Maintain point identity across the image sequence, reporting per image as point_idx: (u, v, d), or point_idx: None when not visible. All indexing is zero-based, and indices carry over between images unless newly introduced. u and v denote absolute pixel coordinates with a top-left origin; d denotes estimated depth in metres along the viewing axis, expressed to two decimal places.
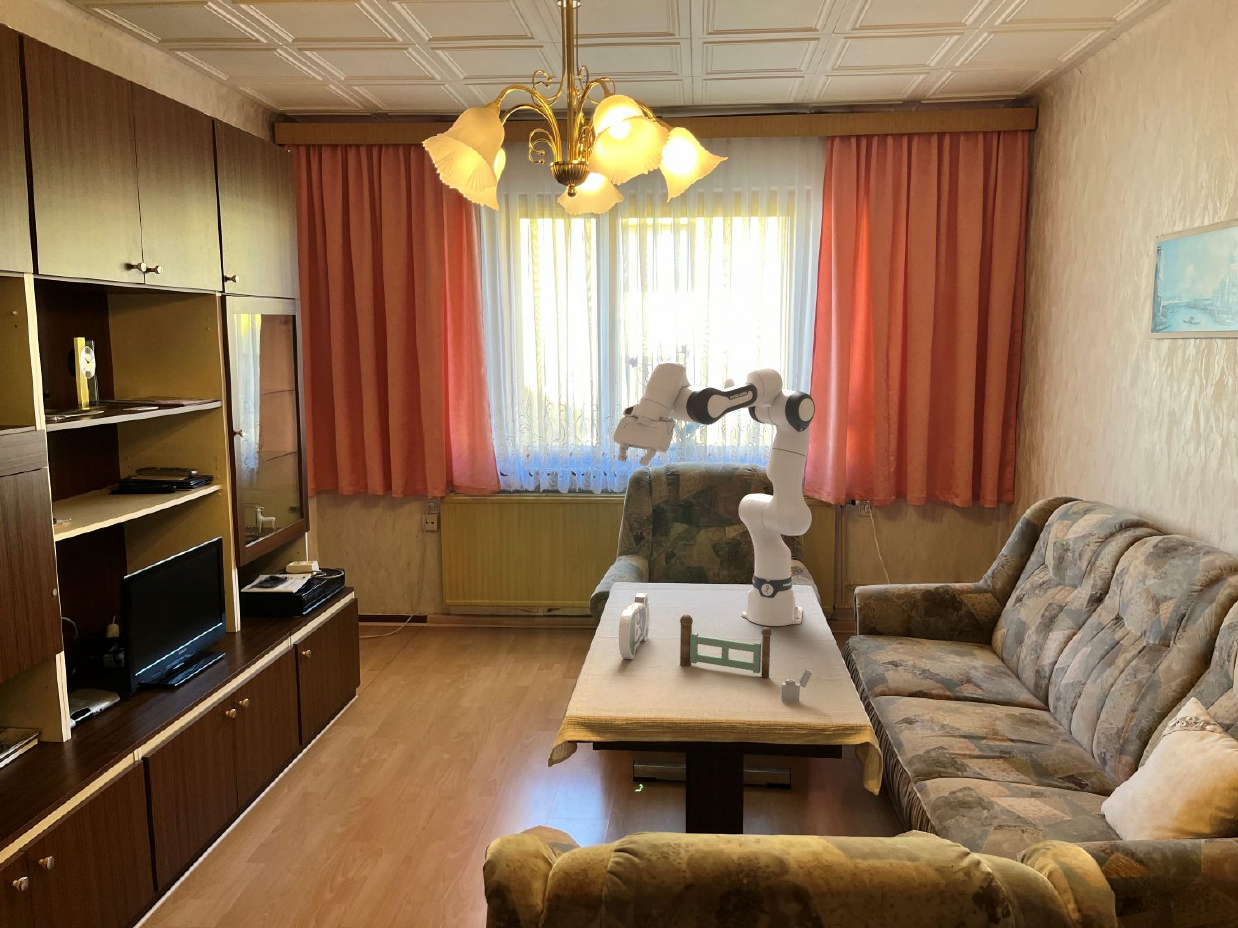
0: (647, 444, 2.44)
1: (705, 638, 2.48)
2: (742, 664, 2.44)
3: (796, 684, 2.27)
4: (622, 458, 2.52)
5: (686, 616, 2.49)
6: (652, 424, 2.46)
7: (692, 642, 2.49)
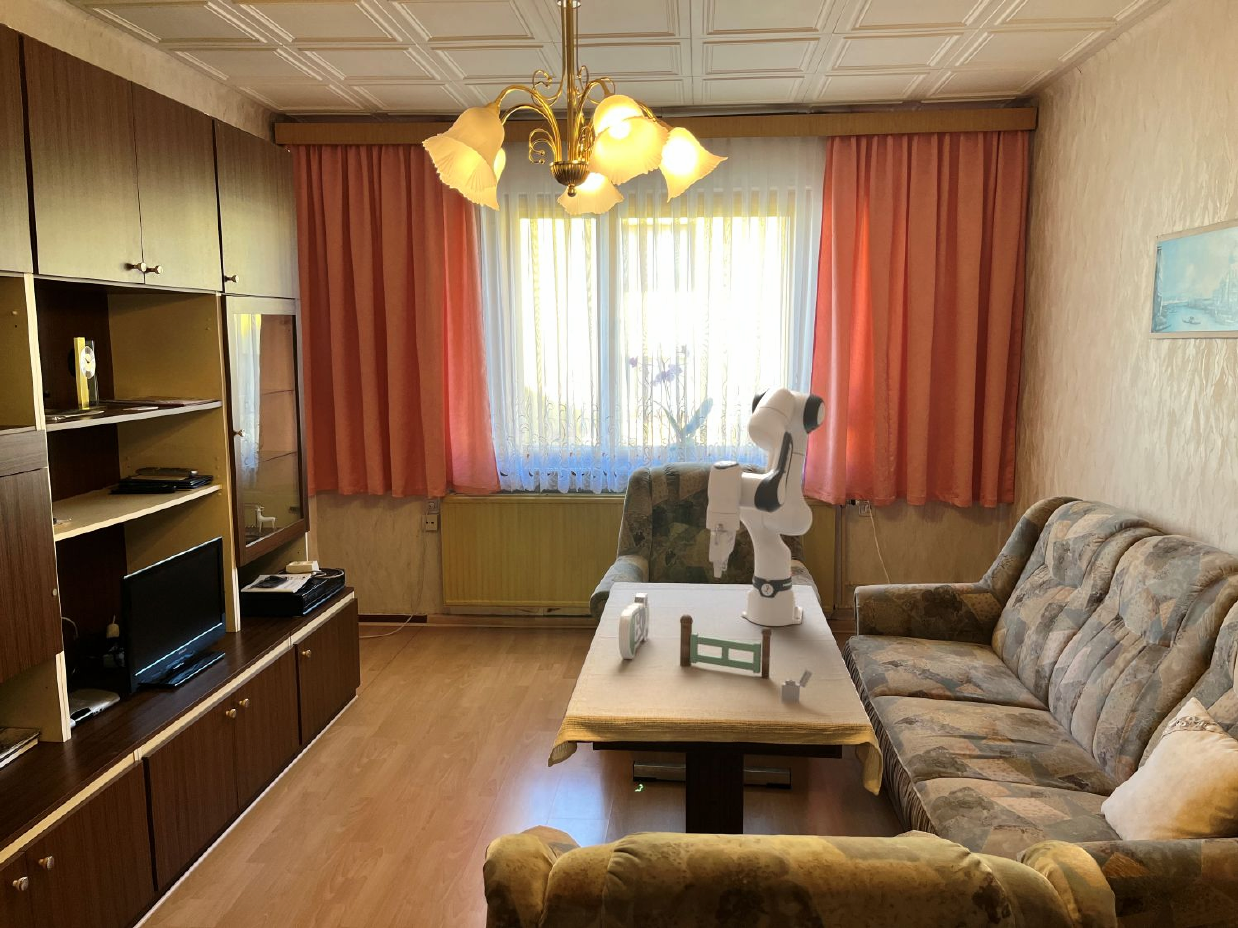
0: None
1: (705, 638, 2.48)
2: (742, 664, 2.44)
3: (796, 684, 2.27)
4: (721, 568, 2.52)
5: (686, 616, 2.49)
6: None
7: (692, 642, 2.49)
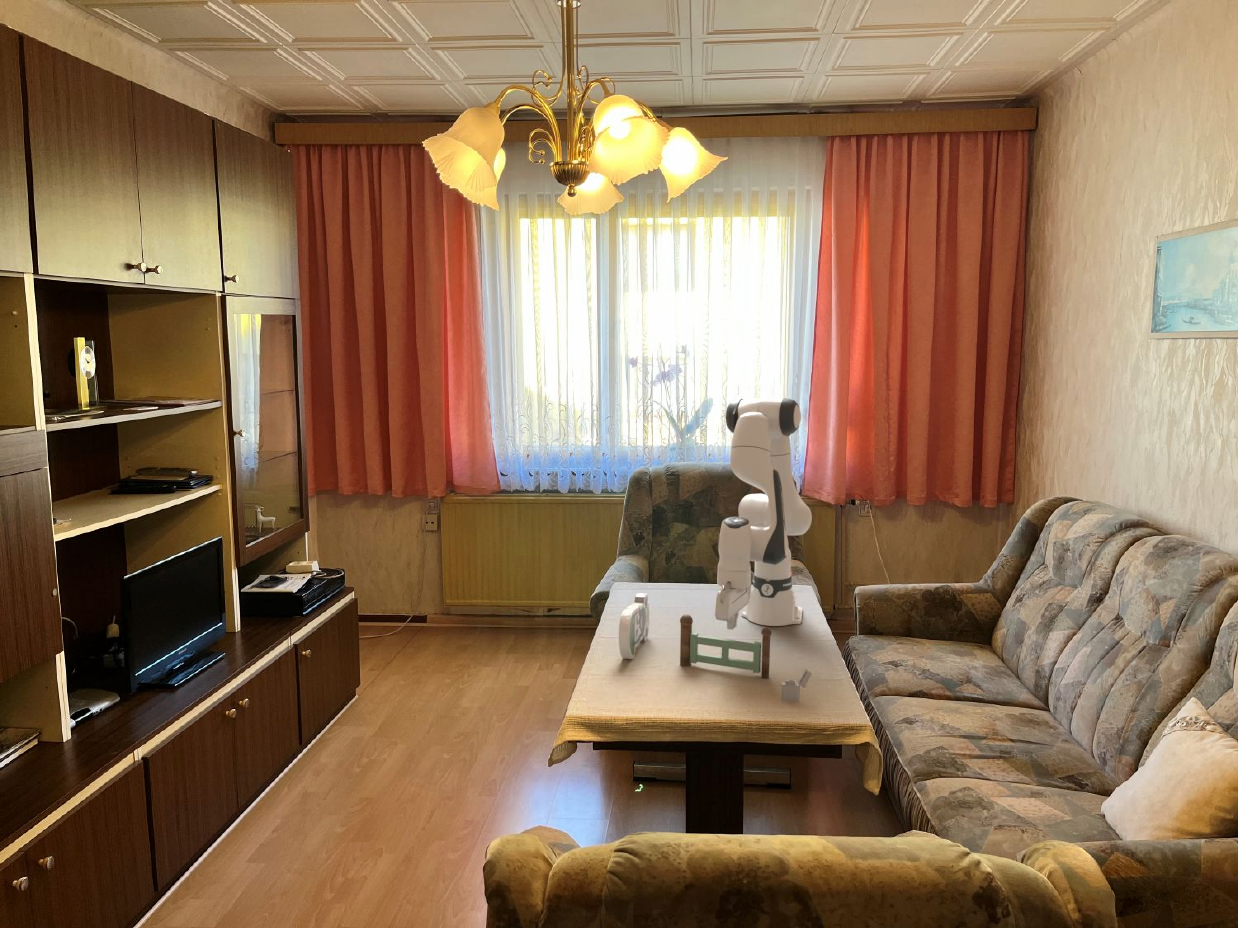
0: None
1: (705, 638, 2.48)
2: (742, 664, 2.44)
3: (796, 684, 2.27)
4: None
5: (686, 616, 2.49)
6: None
7: (692, 642, 2.49)
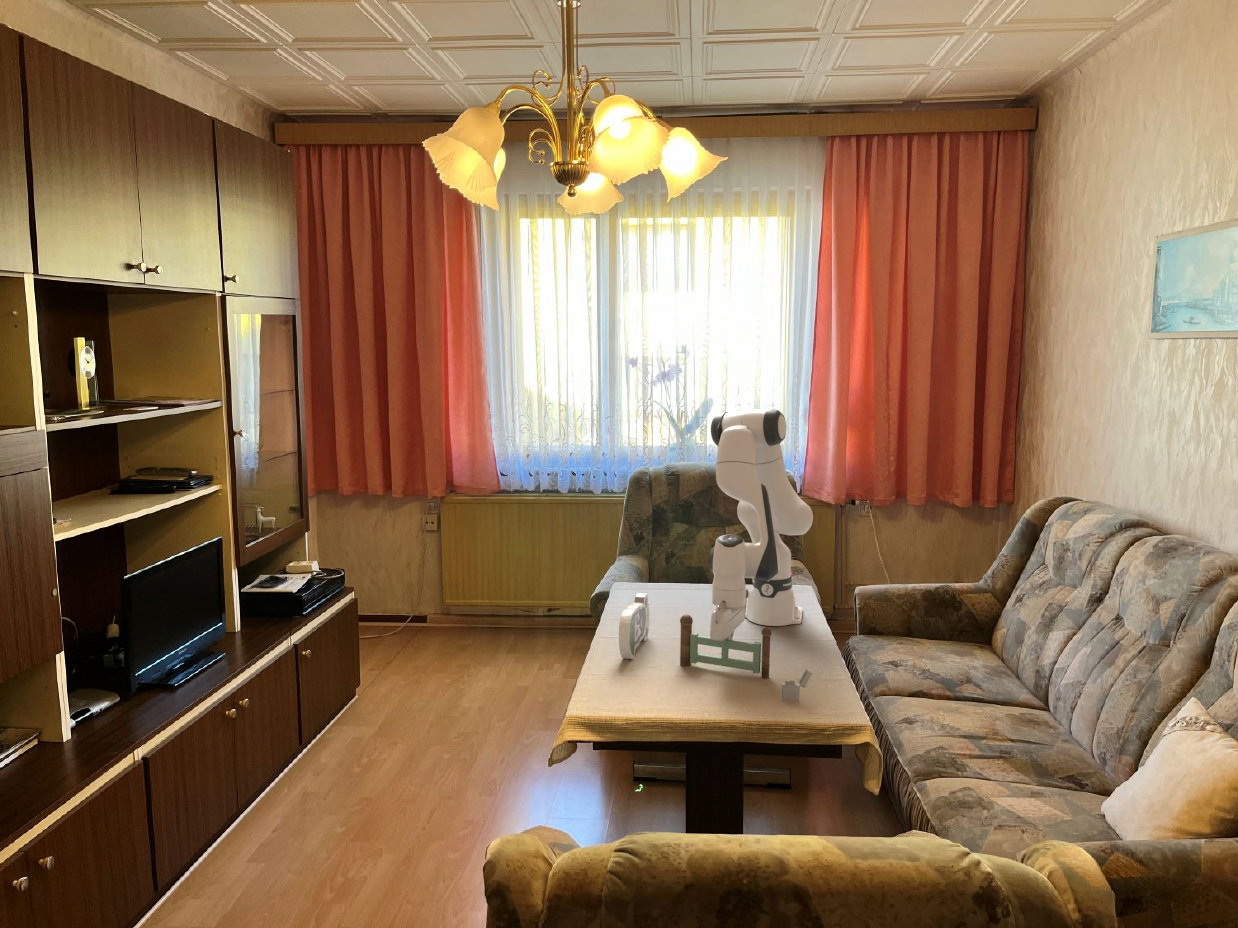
0: None
1: (705, 638, 2.48)
2: (742, 664, 2.44)
3: (796, 684, 2.27)
4: None
5: (686, 616, 2.49)
6: None
7: (692, 642, 2.49)
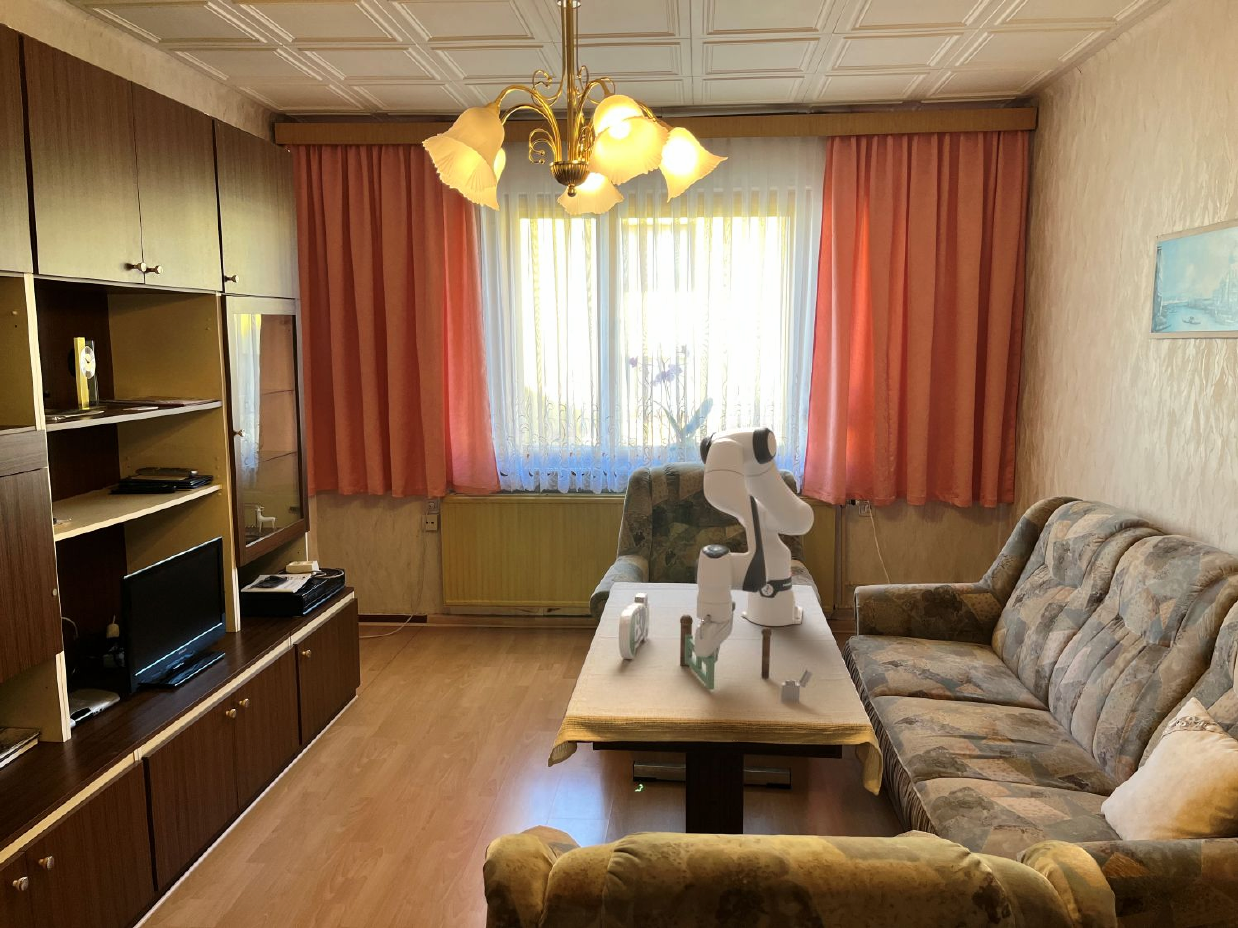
0: None
1: (690, 642, 2.45)
2: (702, 676, 2.36)
3: (796, 684, 2.27)
4: None
5: (686, 616, 2.49)
6: None
7: (685, 643, 2.48)
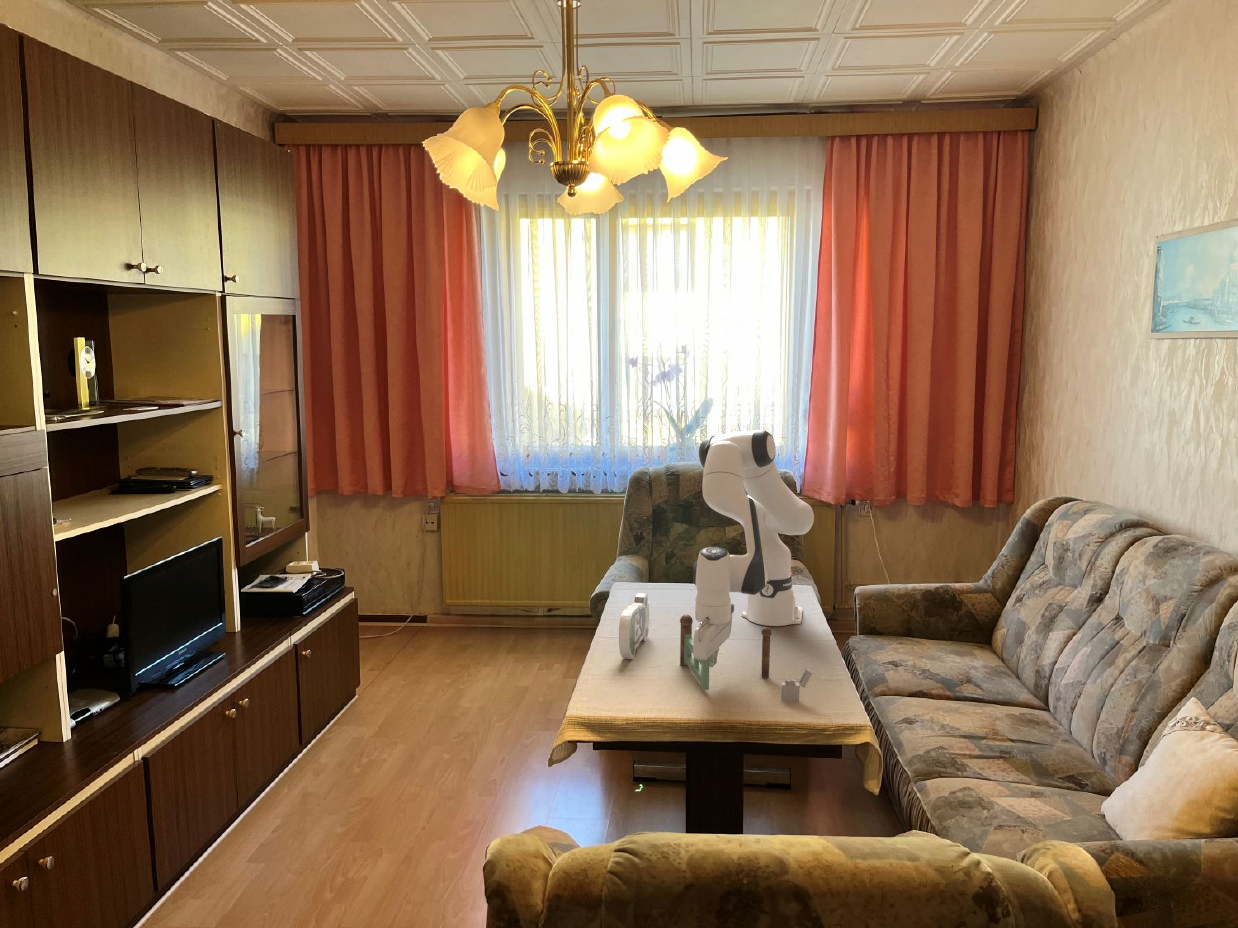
0: None
1: (689, 642, 2.45)
2: (698, 676, 2.35)
3: (796, 684, 2.27)
4: None
5: (686, 616, 2.49)
6: None
7: (685, 643, 2.48)
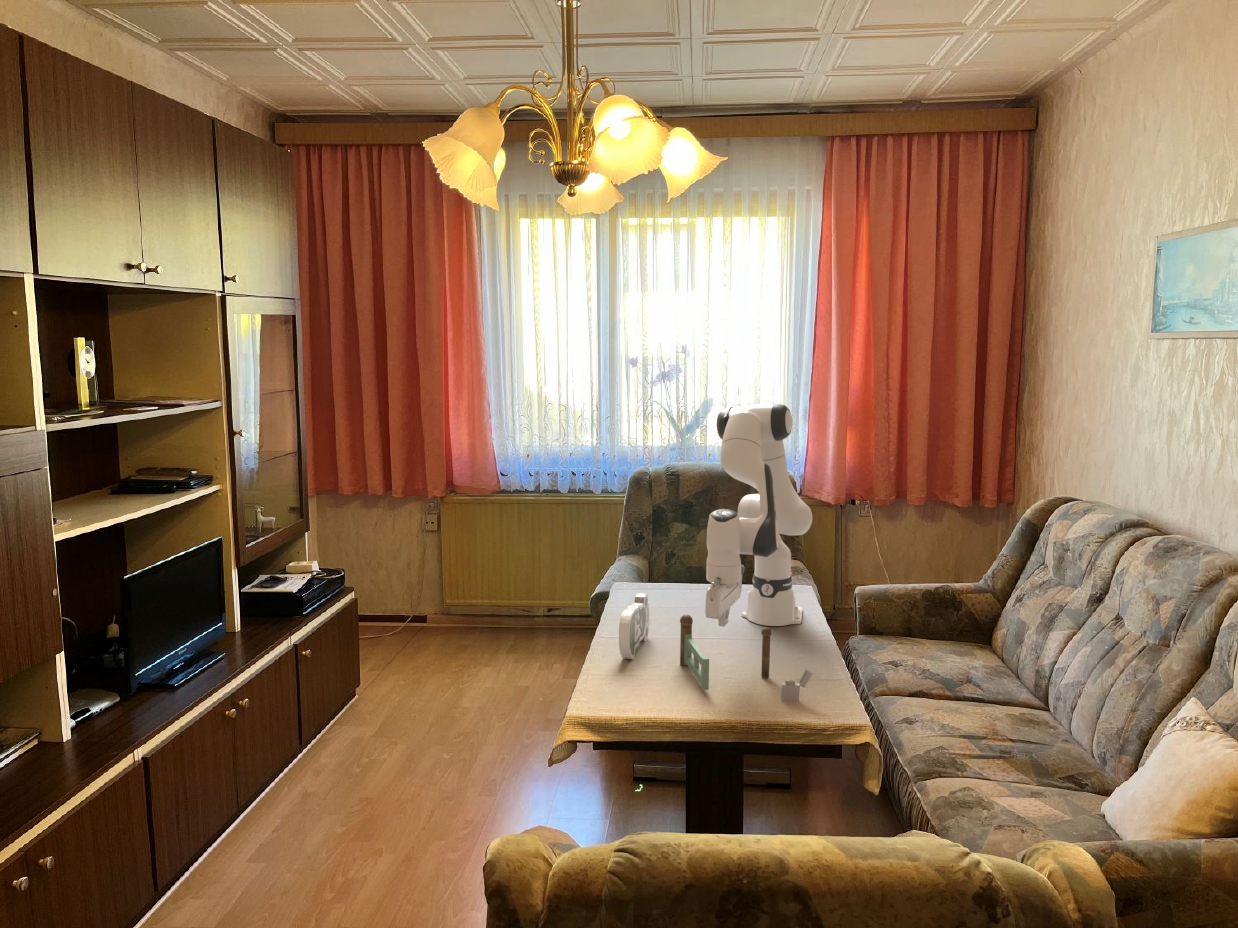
0: None
1: (689, 642, 2.45)
2: (698, 676, 2.35)
3: (796, 684, 2.27)
4: None
5: (686, 616, 2.49)
6: None
7: (685, 643, 2.48)
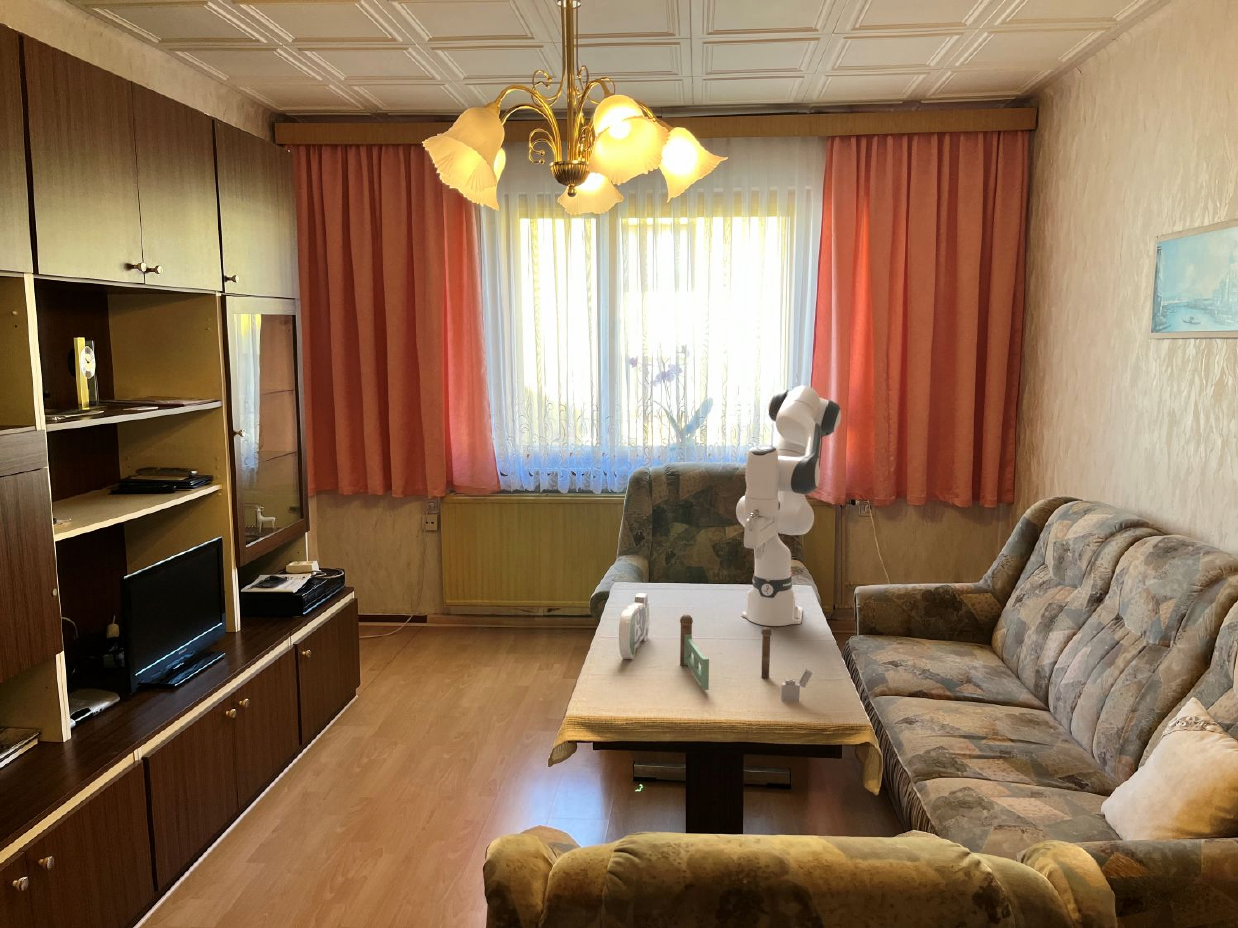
0: None
1: (689, 642, 2.45)
2: (698, 676, 2.35)
3: (796, 684, 2.27)
4: None
5: (686, 616, 2.49)
6: None
7: (685, 643, 2.48)
